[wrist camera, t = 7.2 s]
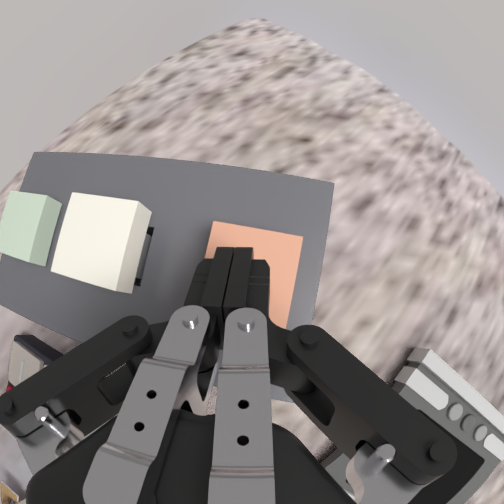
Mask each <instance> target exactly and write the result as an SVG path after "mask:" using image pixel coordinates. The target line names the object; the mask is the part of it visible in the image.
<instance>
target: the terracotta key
mask: <svg viewBox="0 0 504 504" xmlns="http://www.w3.org/2000/svg"><path fill="white" fill-rule="evenodd" d="M302 241H303V237H302V236H296V235H291V234H285V233H280V232H274V231H269V230H263V229H258V228H252V227H246V226H241V225H235V224H229V223H223V222H218V221H213V225H212V229H211V233H210V237H209V242H208V246H207V250H206V255H205V258H214V254H215V251H216V248H217V247H253V250H254V259H265V260H266V261H267V263H268V265H269V266H270V303H269V318H270V319H271V321H272V322H273V323H274V324H276V325H277V326H279V327H281V328H284V329H286V325H287V320H288V315H289V310H290V305H291V300H292V295H293V290H294V285H295V280H296V274H297V269H298V264H299V258H300V253H301V247H302Z"/></svg>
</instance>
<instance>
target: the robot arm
mask: <svg viewBox="0 0 504 504" xmlns="http://www.w3.org/2000/svg"><path fill="white" fill-rule="evenodd" d="M269 303H270V266H269V265H268V263H267V261H266V260H265V259H254V250H253V247H217V248H216V251H215V254H214V258H204V259H203V260H202V261H201V262H200V263H199V264H198V265H197V267H196V270H195V273H194V276H193V278H192V283H191V284H190V287H189V290H188V293H187V296H186V299H185V302H184V305H183V307H182V308H179V309H178V310H176V311H175V312H174V313H173V315H172V316H171V318H170V320H169V321H166V322H162V323H156V324H151V325H148V322H147V321H146V319H144V318H143V317H141V316H137V315H131V316H127V317H124V318H122V319H120V320H119V321H117V322H115V323H114V324H112V325H111V326H109V327H107V328H106V329H104V330H103V331H101V332H99V333H98V334H96V335H95V336H93V337H92V338H90V339H88V340H87V341H85V342H84V343H82V344H80V345H79V346H77V347H76V348H74V349H73V350H71V351H69V352H68V353H66V354H65V355H63V356H62V357H60V358H58V359H57V360H55V361H54V362H52V363H51V364H49V365H47V366H46V367H44V368H43V369H41V370H40V371H38V372H37V373H35V374H33V375H32V376H30V377H29V378H27V379H26V380H24V381H23V382H21V383H20V384H18V385H16V386H15V387H13V388H12V389H10V390H9V391H7V392H6V393H4V394H3V395H1V396H0V424H2V425H3V426H4V427H5V428H6V429H7V430H9V431H10V433H11V434H12V435H13V436H14V437H15V438H16V439H17V442H18V444H19V446H20V449H21V451H22V453H23V455H24V458H25V460H26V462H27V464H28V466H29V468H30V470H31V472H32V474H33V477H32V478H31V480H30V481H29V484H28V486H27V490H26V504H408V503H409V502H410V501H411V500H412V499H413V498H414V497H415V495H416V494H417V493H418V492H419V491H420V490H421V489H422V488H423V487H425V486H427V485H428V484H430V483H432V482H433V481H435V480H436V479H438V478H439V477H441V476H443V475H444V474H446V473H447V472H449V471H450V470H451V469H452V467H453V466H454V464H455V462H456V460H457V448H456V445H455V443H454V441H453V440H452V439H451V438H450V437H449V436H448V435H447V434H446V433H444V432H443V431H442V430H441V429H440V428H438V427H437V426H436V425H435V424H434V423H432V422H431V421H430V420H429V419H428V418H426V417H425V416H424V415H423V414H422V413H421V412H419V411H418V410H417V409H416V408H415V407H413V406H412V405H411V404H410V403H409V402H408V401H406V400H405V399H404V398H403V397H402V396H400V395H399V394H398V393H397V392H396V391H395V390H393V389H392V388H391V387H390V386H389V385H387V384H386V383H385V382H384V381H383V380H382V379H380V378H379V377H378V376H377V375H376V374H375V373H373V372H372V371H371V370H370V369H369V368H368V367H366V366H365V365H364V364H363V363H362V362H361V361H359V360H358V359H357V358H356V357H355V356H354V355H352V354H351V353H350V352H349V351H348V350H347V349H345V348H344V347H343V346H342V345H341V344H340V343H339V342H337V341H336V340H335V339H334V338H333V337H332V336H330V335H329V334H328V333H327V332H326V331H325V330H323V329H322V328H320V327H318V326H314V325H301V326H298V327H296V328H294V329H293V330H292V331H291V330H287V329H284V328H281V327H279V326H277V325H276V324H274V323H273V322H272V321H271V319H270V318H269ZM219 350H223V360H222V368H220V369H219V374H218V387H217V400H216V414H212V415H207V405H208V401H209V398H210V394H211V390H212V387H213V383H214V379H215V376H216V372H217V368H218V361H217V360H218V356H219ZM125 362H126V365H125V366H123V367H122V368H120V369H119V370H117V371H116V372H114V373H113V374H111V375H110V376H108V377H107V378H105V379H104V380H102V381H101V382H99V381H100V380H101V379H102V378H103V377H105V376H106V375H108V374H109V373H111V372H112V371H114V370H115V369H117V368H118V367H120V366H121V365H122V364H124V363H125ZM270 384H272V385H276V386H279V387H282V388H284V391H285V393H286V394H287V395H288V396H289V397H290V398H291V399H292V400H293V402H294V403H295V404H296V405H297V406H298V407H299V408H300V409H301V410H302V411H303V412H304V413H305V414H306V415H307V416H308V417H309V418H310V420H311V421H312V422H313V423H314V424H315V425H316V426H317V427H318V428H319V429H320V430H321V431H322V432H323V433H324V434H325V435H326V436H327V437H328V438H329V439H330V440H331V441H332V442H333V443H334V444H335V445H336V446H337V447H338V448H339V449H340V450H341V451H342V452H343V453H344V454H345V455H346V456H347V457H348V458H349V459H350V462H349V463H348V465H347V467H346V478H347V480H348V482H349V484H350V485H351V486H352V488H353V490H354V494H355V498H354V500H353V499H352V498H351V497H350V496H349V495H348V494H347V492H346V491H345V490H344V489H343V488H342V487H341V486H340V485H339V484H338V483H337V482H336V481H335V480H334V478H333V477H332V476H331V475H330V474H329V473H328V472H327V471H326V470H325V468H324V467H323V466H322V465H321V464H320V463H319V462H318V461H317V459H316V458H315V457H314V456H313V455H312V454H311V453H310V451H309V450H308V449H307V448H306V447H305V446H304V444H303V443H302V442H301V441H300V440H299V439H298V438H297V437H296V436H295V435H294V434H292V433H291V432H290V431H288V430H287V429H285V428H283V427H281V426H279V425H277V424H274V423H272V413H271V389H270ZM117 414H118V415H117ZM116 415H117V416H116ZM114 416H115V417H114ZM107 421H108V422H107ZM104 423H105V424H104ZM103 424H104V425H103ZM101 425H102V426H101ZM100 426H101V427H100ZM98 427H100V428H98ZM97 428H98V429H97ZM95 429H97V430H96V431H94V430H95ZM93 431H94V432H93ZM91 432H93V433H91ZM90 433H91V434H90ZM88 434H90V435H89V436H87V435H88ZM85 436H87V437H86V438H85V439H84V437H85Z"/></svg>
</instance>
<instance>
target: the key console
mask: <svg viewBox="0 0 504 504" xmlns="http://www.w3.org/2000/svg"><path fill="white" fill-rule="evenodd" d="M333 190H334V183H331V182H326V181H321V180H315V179H310V178H304V177H299V176H293V175H287V174H281V173H275V172H269V171H262V170H256V169H249V168H242V167H235V166H227V165H219V164H211V163H203V162H194V161H185V160H175V159H165V158H154V157H142V156H128V155H113V154H94V153H67V152H34V154H33V156H32V159H31V161H30V164H29V166H28V169H27V172H26V174H25V177H24V180H23V183H22V185H21V188H20V191H19V192H26V193H33V194H41V195H47V196H49V197H51V198H53V199H55V200H56V201H58V202H60V203H62V206H61V209H60V213H59V216H58V219H57V223H56V226H55V230H54V234H53V237H52V241H51V245H50V249H49V253H48V257H47V262H46V266H41V265H37V264H33V263H29V262H26V261H23V260H21V259H18V258H15V257H12V256H9V255H7V254H4V253H2V256H1V261H0V305H2V306H4V307H6V308H8V309H10V310H12V311H13V312H15V313H17V314H19V315H21V316H23V317H25V318H27V319H29V320H32V321H34V322H36V323H38V324H40V325H42V326H44V327H46V328H49V329H51V330H53V331H55V332H57V333H60V334H62V335H64V336H67V337H69V338H71V339H74V340H76V341H79V342H81V343H84V342H85V341H87V340H88V339H90V338H92V337H93V336H95V335H96V334H98V333H99V332H101V331H103V330H104V329H106V328H107V327H109V326H111V325H112V324H114V323H115V322H117V321H119V320H120V319H122V318H124V317H127V316H131V315H137V316H141V317H143V318H144V319H146V321H147V322H148V325H151V324H156V323H162V322H166V321H169V320H170V318H171V316H172V315H173V313H174V312H175V311H176V310H178V309H179V308H182V307H183V305H184V302H185V299H186V296H187V293H188V290H189V287H190V284H191V283H192V278H193V276H194V273H195V270H196V267H197V265H198V264H199V263H200V262H201V261H202V260H203V259H204V258H205V255H206V250H207V246H208V242H209V237H210V233H211V229H212V225H213V221H218V222H223V223H229V224H235V225H241V226H246V227H252V228H258V229H263V230H269V231H274V232H280V233H285V234H291V235H296V236H302V237H303V241H302V247H301V253H300V258H299V264H298V269H297V274H296V280H295V285H294V290H293V295H292V300H291V305H290V310H289V315H288V320H287V325H286V329H287V330H291V331H292V330H293V329H294V328H296V327H298V326H301V325H311V323H312V318H313V313H314V308H315V302H316V297H317V292H318V286H319V281H320V275H321V269H322V263H323V258H324V251H325V245H326V239H327V232H328V226H329V219H330V212H331V205H332V198H333ZM72 192H75V193H83V194H90V195H98V196H105V197H112V198H120V199H127V200H134V201H139V202H140V203H141V204H143V205H144V206H145V207H146V208H147V209H149V210H150V211H151V212H152V213H151V217H150V221H149V224H148V228H147V232H146V234H148V235H150V236H151V237H152V239H151V243H150V247H149V251H148V255H147V259H146V263H145V268H144V272H143V276H142V279H139V278H135V281H134V286H133V290H132V294H131V293H124V292H118V291H114V290H110V289H107V288H103V287H100V286H96V285H93V284H90V283H86V282H83V281H80V280H77V279H74V278H70V277H67V276H64V275H61V274H58V273H55V272H52V271H51V267H52V263H53V259H54V254H55V250H56V246H57V242H58V239H59V235H60V231H61V228H62V224H63V221H64V217H65V214H66V210H67V207H68V204H69V201H70V198H71V195H72ZM222 360H223V350H219V356H218V360H217V361H218V368H217V372H216V376H215V379H214V383H213V386H216V387H218V374H219V369H220V368H222ZM270 389H271V399H275V400H280V401H286V402H292V403H294V402H293V400H292V399H291V398H290V397H289V396H288V395H287V394H286V393H285V391H284V388H282V387H279V386H276V385H272V384H270Z"/></svg>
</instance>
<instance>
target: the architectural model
mask: <svg viewBox="0 0 504 504" xmlns="http://www.w3.org/2000/svg"><path fill="white" fill-rule="evenodd" d="M0 486H1V502H2V504H12V503H11V500H10V498H11V499H12V500H13V501H14V502H13V501H12V502H13V503H15V504H26V498H25V499H23V500H22V501H20V500H19V496H18V495H17V494H16V493H15V492H14V491H13V490H11V489H10V488H9V487H8V486H7V485H6V484H5V483H4V482H3V481H0Z"/></svg>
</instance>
